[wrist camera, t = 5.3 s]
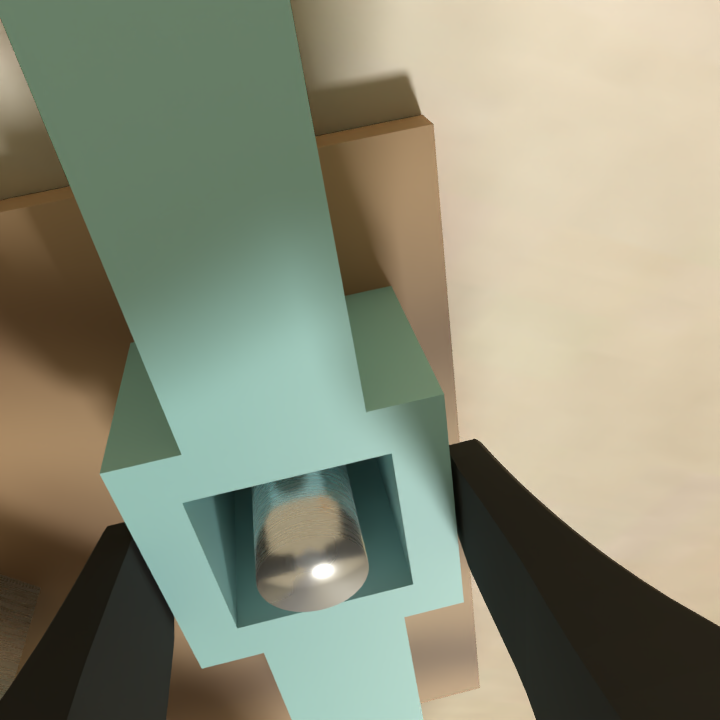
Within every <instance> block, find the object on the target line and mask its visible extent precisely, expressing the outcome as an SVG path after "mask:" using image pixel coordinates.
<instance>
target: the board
mask: <svg viewBox="0 0 720 720" xmlns="http://www.w3.org/2000/svg"><path fill="white" fill-rule="evenodd" d="M315 138H316V144H317V149H318V155H319V160H320V165H321V171H322V176H323V182H324V187H325V192H326V198H327V203H328V209H329V214H330V219H331V225H332V230H333V236H334V241H335V246H336V252H337V257H338V263H339V268H340V273H341V279H342V284H343V290H344V295H345V296H347V295H351V294H356V293H361V292H365V291H370V290H374V289H379V288H383V287H388V286H392V288H393V291H394V293H395V295H396V297H397V299H398V301H399V303H400V305H401V307H402V309H403V311H404V313H405V315H406V317H407V319H408V321H409V323H410V325H411V327H412V329H413V331H414V334H415V336H416V338H417V340H418V342H419V344H420V346H421V348H422V350H423V352H424V354H425V356H426V358H427V360H428V362H429V364H430V366H431V368H432V370H433V372H434V374H435V376H436V379H437V381H438V383H439V385H440V387H441V389H442V391H443V393H444V398H445V409H446V419H447V430H448V440H449V445H452V444H456V443H460V442H459V430H458V418H457V406H456V394H455V381H454V369H453V357H452V345H451V333H450V321H449V309H448V296H447V284H446V272H445V260H444V248H443V236H442V224H441V211H440V199H439V187H438V175H437V163H436V151H435V138H434V126H433V123H431V122H430V121H429V120H428V119H427V118H426V117H424V116H423V115H419V116H414V117H409V118H404V119H399V120H394V121H389V122H384V123H379V124H374V125H369V126H365V127H360V128H355V129H350V130H345V131H340V132H335V133H330V134H325V135H320V136H315ZM133 342H135V341H134V339H133V336H132V334H131V332H130V329H129V327H128V324H127V322H126V320H125V317H124V315H123V312H122V310H121V308H120V305H119V303H118V300H117V298H116V296H115V293H114V291H113V288H112V286H111V283H110V281H109V279H108V276H107V274H106V271H105V269H104V267H103V264H102V262H101V259H100V257H99V255H98V252H97V250H96V247H95V245H94V243H93V240H92V238H91V235H90V233H89V230H88V228H87V226H86V223H85V221H84V218H83V216H82V214H81V211H80V209H79V206H78V204H77V202H76V199H75V197H74V194H73V192H72V190H71V187H70V186H68V187H64V188H59V189H54V190H49V191H44V192H39V193H34V194H29V195H24V196H19V197H14V198H9V199H4V200H0V574H1V575H4V576H7V577H10V578H13V579H16V580H19V581H22V582H25V583H28V584H32V585H35V586H38V587H41V588H40V592H39V595H38V599H37V602H36V606H35V609H34V613H33V616H32V620H31V623H30V627H29V630H28V634H27V637H26V641H25V644H24V648H23V651H22V655H21V658H20V662H19V665H18V669H17V672H16V676H17V675H18V673H19V672H20V670H21V669H22V667H23V666H24V664H25V663H26V661H27V660H28V658H29V657H30V655H31V653H32V652H33V650H34V649H35V647H36V646H37V644H38V643H39V641H40V640H41V638H42V636H43V635H44V633H45V632H46V630H47V628H48V627H49V625H50V623H51V622H52V620H53V618H54V617H55V615H56V613H57V612H58V610H59V608H60V607H61V605H62V603H63V602H64V600H65V598H66V597H67V595H68V593H69V592H70V590H71V588H72V586H73V585H74V583H75V581H76V579H77V578H78V576H79V574H80V572H81V571H82V569H83V567H84V565H85V564H86V562H87V560H88V558H89V556H90V555H91V553H92V551H93V549H94V547H95V546H96V544H97V542H98V540H99V539H100V537H101V535H102V533H103V532H104V530H105V529H106V527H107V526H110V525H114V524H118V523H122V522H125V521H124V520H123V518H122V516H121V514H120V512H119V510H118V508H117V506H116V504H115V502H114V501H113V499H112V497H111V495H110V493H109V491H108V489H107V487H106V485H105V483H104V481H103V480H102V478H101V476H100V470H101V466H102V461H103V457H104V453H105V449H106V444H107V440H108V436H109V432H110V428H111V423H112V419H113V415H114V411H115V406H116V402H117V398H118V394H119V389H120V385H121V381H122V377H123V373H124V368H125V364H126V360H127V356H128V351H129V347H130V343H133ZM457 535H458V534H457ZM458 545H459V556H460V567H461V577H462V588H463V598H464V602H463V603H459V604H455V605H451V606H447V607H443V608H439V609H435V610H431V611H427V612H423V613H420V614H416V615H412V616H408V617H404V619H405V624H406V629H407V635H408V640H409V646H410V651H411V656H412V662H413V667H414V673H415V678H416V683H417V689H418V694H419V699H420V703H424V702H428V701H431V700H435V699H439V698H443V697H447V696H450V695H454V694H458V693H462V692H466V691H470V690H473V689H477V688H480V685H479V673H478V661H477V649H476V637H475V625H474V612H473V600H472V588H471V576H470V568H469V566H468V563H467V560H466V558H465V555H464V552H463V549H462V546H461V543H460V540H459V537H458ZM16 676H15V678H16ZM166 720H292V719H291V717H290V715H289V712H288V710H287V707H286V705H285V703H284V700H283V698H282V695H281V693H280V691H279V688H278V686H277V683H276V681H275V679H274V676H273V674H272V671H271V669H270V666H269V664H268V662H267V659H266V657H265V654H264V653H262V654H258V655H254V656H250V657H246V658H242V659H238V660H234V661H230V662H226V663H222V664H218V665H214V666H210V667H206V668H203V669H202V668H201V666H200V664H199V662H198V661H197V659H196V657H195V655H194V653H193V651H192V649H191V647H190V645H189V643H188V641H187V640H186V638H185V636H184V634H183V632H182V630H181V628H180V626H179V624H178V622H177V621H176V619H175V617H174V649H173V659H172V669H171V679H170V688H169V698H168V707H167V716H166Z"/></svg>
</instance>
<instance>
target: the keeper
mask: <svg viewBox="0 0 720 720" xmlns="http://www.w3.org/2000/svg"><path fill="white" fill-rule="evenodd" d="M40 588H41V587H38V586H35V585H32V584H28V583H25V582H22V581H19V580H16V579H13V578H10V577H7V576H4V575H1V574H0V699H1V698H2V697H3V695H4V694H5V692H6V691H7V690H8V688H9V687H10V685H11V684H12V682H13V681H14V679H15V676H16V672H17V669H18V665H19V662H20V658H21V655H22V651H23V648H24V644H25V641H26V637H27V634H28V630H29V627H30V623H31V620H32V616H33V613H34V609H35V606H36V602H37V599H38V595H39V592H40Z"/></svg>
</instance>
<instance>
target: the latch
mask: <svg viewBox="0 0 720 720" xmlns="http://www.w3.org/2000/svg"><path fill="white" fill-rule="evenodd" d="M0 18H1V21H2V23H3V26H4V28H5V31H6V33H7V35H8V38H9V40H10V43H11V45H12V47H13V50H14V52H15V55H16V57H17V59H18V62H19V64H20V67H21V69H22V71H23V74H24V76H25V79H26V81H27V84H28V86H29V88H30V91H31V93H32V96H33V98H34V100H35V103H36V105H37V108H38V110H39V112H40V115H41V117H42V120H43V122H44V124H45V127H46V129H47V132H48V134H49V137H50V139H51V141H52V144H53V146H54V149H55V151H56V153H57V156H58V158H59V161H60V163H61V165H62V168H63V170H64V173H65V175H66V177H67V180H68V182H69V185H70V187H71V190H72V192H73V194H74V197H75V199H76V202H77V204H78V206H79V209H80V211H81V214H82V216H83V218H84V221H85V223H86V226H87V228H88V230H89V233H90V235H91V238H92V240H93V243H94V245H95V247H96V250H97V252H98V255H99V257H100V259H101V262H102V264H103V267H104V269H105V271H106V274H107V276H108V279H109V281H110V283H111V286H112V288H113V291H114V293H115V296H116V298H117V300H118V303H119V305H120V308H121V310H122V312H123V315H124V317H125V320H126V322H127V324H128V327H129V329H130V332H131V334H132V336H133V339H134V341H135V342H133V343H130V347H129V351H128V356H127V360H126V364H125V368H124V373H123V377H122V381H121V385H120V389H119V394H118V398H117V402H116V406H115V411H114V415H113V419H112V423H111V428H110V432H109V436H108V440H107V444H106V449H105V453H104V457H103V461H102V466H101V470H100V476H101V478H102V480H103V481H104V483H105V485H106V487H107V489H108V491H109V493H110V495H111V497H112V499H113V501H114V502H115V504H116V506H117V508H118V510H119V512H120V514H121V516H122V518H123V520H124V521H125V523H126V525H127V527H128V529H129V531H130V533H131V535H132V537H133V539H134V541H135V542H136V544H137V546H138V548H139V550H140V552H141V554H142V556H143V558H144V560H145V561H146V563H147V565H148V567H149V569H150V571H151V573H152V575H153V577H154V579H155V581H156V582H157V584H158V586H159V588H160V590H161V592H162V594H163V596H164V598H165V600H166V601H167V603H168V605H169V607H170V609H171V611H172V613H173V615H174V617H175V619H176V621H177V622H178V624H179V626H180V628H181V630H182V632H183V634H184V636H185V638H186V640H187V641H188V643H189V645H190V647H191V649H192V651H193V653H194V655H195V657H196V659H197V661H198V662H199V664H200V666H201V668H202V669H203V668H206V667H210V666H214V665H218V664H222V663H226V662H230V661H234V660H238V659H242V658H246V657H250V656H254V655H258V654H262V653H264V654H265V657H266V659H267V662H268V664H269V666H270V669H271V671H272V674H273V676H274V679H275V681H276V683H277V686H278V688H279V691H280V693H281V695H282V698H283V700H284V703H285V705H286V707H287V710H288V712H289V715H290V717H291V719H292V720H423V716H422V710H421V705H420V699H419V694H418V689H417V683H416V678H415V673H414V667H413V662H412V656H411V651H410V646H409V640H408V635H407V629H406V624H405V619H404V617H408V616H412V615H416V614H420V613H423V612H427V611H431V610H435V609H439V608H443V607H447V606H451V605H455V604H459V603H463V602H464V598H463V588H462V577H461V567H460V556H459V545H458V535H457V524H456V514H455V503H454V493H453V482H452V472H451V461H450V451H449V440H448V430H447V419H446V409H445V398H444V393H443V391H442V389H441V387H440V385H439V383H438V381H437V379H436V376H435V374H434V372H433V370H432V368H431V366H430V364H429V362H428V360H427V358H426V356H425V354H424V352H423V350H422V348H421V346H420V344H419V342H418V340H417V338H416V336H415V334H414V331H413V329H412V327H411V325H410V323H409V321H408V319H407V317H406V315H405V313H404V311H403V309H402V307H401V305H400V303H399V301H398V299H397V297H396V295H395V293H394V291H393V288H392V286H388V287H383V288H379V289H374V290H370V291H365V292H361V293H356V294H351V295H347V296H345V295H344V290H343V284H342V279H341V273H340V268H339V263H338V257H337V252H336V246H335V241H334V236H333V230H332V225H331V219H330V214H329V209H328V203H327V198H326V192H325V187H324V182H323V176H322V171H321V165H320V160H319V155H318V149H317V144H316V138H315V133H314V128H313V122H312V117H311V112H310V106H309V101H308V95H307V90H306V85H305V79H304V74H303V68H302V63H301V58H300V52H299V47H298V41H297V36H296V31H295V25H294V20H293V14H292V9H291V4H290V0H0ZM345 464H346V468H347V473H348V477H349V481H350V486H351V490H352V494H353V498H354V503H355V507H356V511H357V516H358V520H359V524H360V529H361V533H362V537H363V541H364V546H365V550H366V554H367V559H368V564H369V571H368V575H367V578H366V580H365V582H364V584H363V585H362V587H361V588H360V589H359V590H358V591H357V592H356V593H355V594H354V595H353V596H351V597H350V598H349V599H347V600H345V601H344V602H342V603H340V604H338V605H335V606H333V607H330V608H327V609H323V610H318V611H311V612H294V611H288V610H283V609H280V608H278V607H275V606H273V605H271V604H270V603H268V602H267V601H266V600H265V599H264V598H263V597H262V596H261V595H260V593H259V591H258V589H257V585H256V569H255V549H254V529H253V509H252V488H251V487H252V486H256V485H260V484H265V483H269V482H273V481H277V480H281V479H286V478H290V477H294V476H298V475H303V474H307V473H311V472H315V471H320V470H324V469H328V468H332V467H336V466H341V465H345Z"/></svg>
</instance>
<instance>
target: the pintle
mask: <svg viewBox="0 0 720 720" xmlns="http://www.w3.org/2000/svg"><path fill="white" fill-rule="evenodd" d="M251 488H252V509H253V529H254V549H255V569H256V585H257V589H258V591H259V593H260V595H261V596H262V597H263V598H264V599H265V600H266V601H267V602H268V603H270V604H271V605H273V606H275V607H278V608H280V609H283V610H288V611H294V612H311V611H318V610H323V609H327V608H330V607H333V606H335V605H338V604H340V603H342V602H344V601H345V600H347V599H349V598H350V597H351V596H353V595H354V594H355V593H356V592H357V591H358V590H359V589H360V588H361V587H362V585H363V584H364V582H365V580H366V578H367V575H368V571H369V564H368V559H367V554H366V550H365V546H364V541H363V537H362V533H361V529H360V524H359V520H358V516H357V511H356V507H355V503H354V498H353V494H352V490H351V486H350V481H349V477H348V473H347V468H346V464H345V465H341V466H336V467H332V468H328V469H324V470H320V471H315V472H311V473H307V474H303V475H298V476H294V477H290V478H286V479H281V480H277V481H273V482H269V483H265V484H260V485H256V486H252V487H251Z"/></svg>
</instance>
